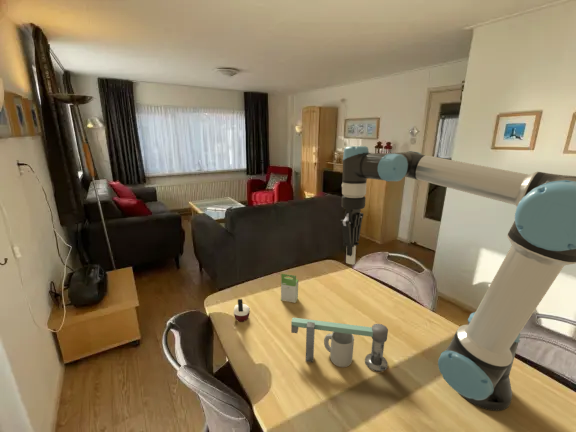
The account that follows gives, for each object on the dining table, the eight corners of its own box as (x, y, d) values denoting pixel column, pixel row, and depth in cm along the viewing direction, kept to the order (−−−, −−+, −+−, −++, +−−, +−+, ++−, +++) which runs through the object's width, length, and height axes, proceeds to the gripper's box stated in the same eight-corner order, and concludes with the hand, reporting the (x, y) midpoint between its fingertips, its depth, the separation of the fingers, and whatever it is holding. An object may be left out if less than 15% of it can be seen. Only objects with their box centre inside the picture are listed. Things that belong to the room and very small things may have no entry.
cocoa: (239, 312, 118) (238, 286, 116) (253, 314, 117) (252, 288, 114) (229, 326, 109) (226, 298, 107) (243, 328, 108) (242, 300, 105)
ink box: (298, 298, 128) (298, 271, 124) (295, 303, 124) (296, 276, 121) (283, 295, 130) (283, 269, 126) (280, 300, 126) (280, 273, 123)
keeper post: (313, 357, 94) (314, 322, 91) (312, 362, 92) (314, 327, 88) (306, 356, 95) (307, 321, 91) (305, 361, 93) (306, 326, 89)
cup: (347, 371, 89) (349, 348, 86) (318, 358, 94) (319, 335, 91) (355, 356, 95) (357, 334, 92) (328, 345, 100) (329, 323, 97)
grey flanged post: (391, 364, 92) (394, 339, 89) (379, 375, 87) (382, 350, 85) (372, 351, 97) (375, 328, 94) (360, 362, 92) (363, 337, 90)
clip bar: (385, 337, 92) (386, 324, 90) (387, 348, 87) (389, 334, 86) (293, 325, 97) (293, 313, 96) (290, 335, 92) (290, 322, 91)
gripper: (351, 191, 98) (348, 254, 104) (333, 197, 88) (331, 267, 94) (372, 193, 94) (368, 259, 100) (356, 200, 83) (352, 273, 90)
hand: (350, 263), depth 97 cm, fingers closed
